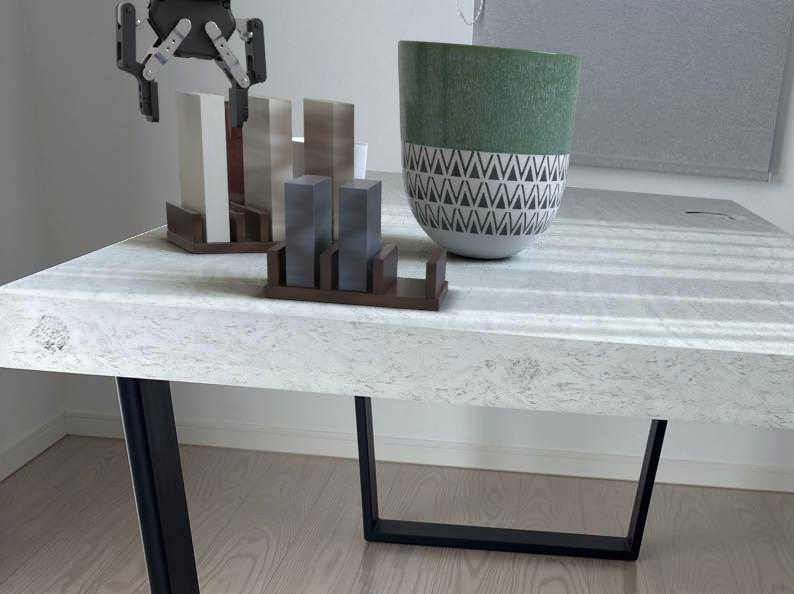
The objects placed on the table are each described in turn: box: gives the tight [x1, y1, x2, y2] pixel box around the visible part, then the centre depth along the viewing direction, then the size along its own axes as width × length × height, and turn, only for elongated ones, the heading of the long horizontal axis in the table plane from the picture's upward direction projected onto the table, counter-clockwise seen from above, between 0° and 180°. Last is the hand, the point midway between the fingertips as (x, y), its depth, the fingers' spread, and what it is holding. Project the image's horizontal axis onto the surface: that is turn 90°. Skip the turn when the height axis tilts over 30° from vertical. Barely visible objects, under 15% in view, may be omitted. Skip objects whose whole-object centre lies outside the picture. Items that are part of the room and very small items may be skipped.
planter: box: [397, 39, 584, 260], centre depth 116 cm, size 20×20×21 cm
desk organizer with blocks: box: [263, 175, 449, 312], centre depth 93 cm, size 15×9×10 cm, turn 89°
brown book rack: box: [165, 94, 355, 255], centre depth 113 cm, size 20×9×15 cm, turn 124°
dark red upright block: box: [224, 100, 245, 207], centre depth 122 cm, size 6×6×14 cm
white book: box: [174, 90, 230, 243], centre depth 109 cm, size 2×8×14 cm, turn 34°
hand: (195, 124), depth 107 cm, fingers open, 8 cm apart
